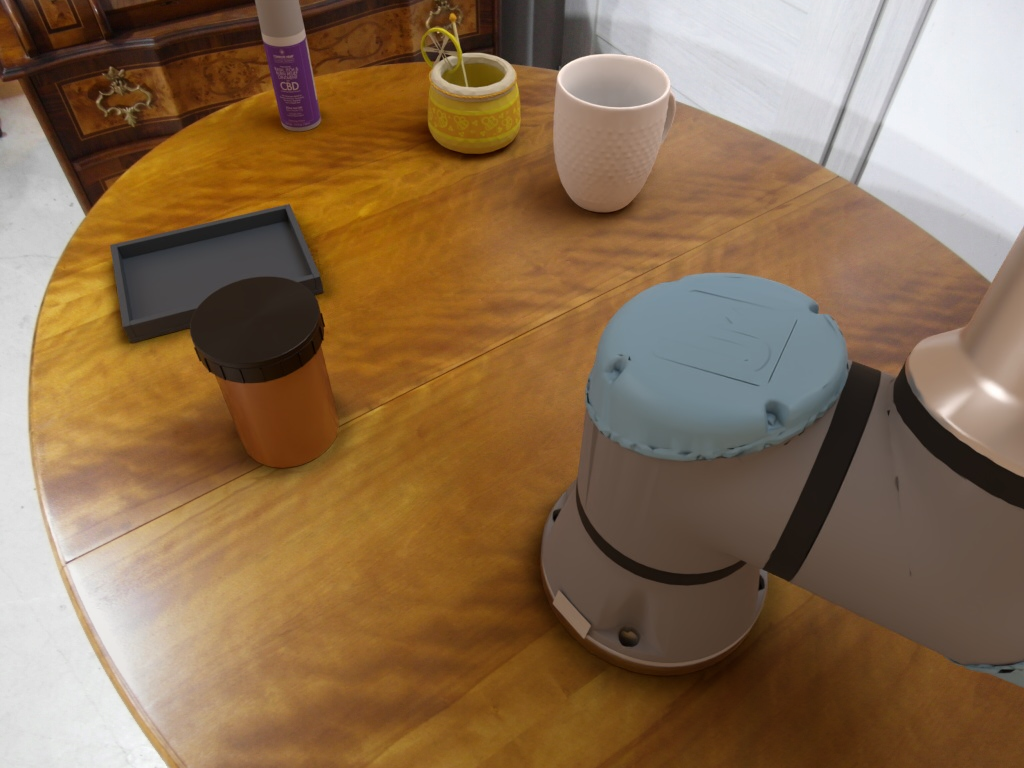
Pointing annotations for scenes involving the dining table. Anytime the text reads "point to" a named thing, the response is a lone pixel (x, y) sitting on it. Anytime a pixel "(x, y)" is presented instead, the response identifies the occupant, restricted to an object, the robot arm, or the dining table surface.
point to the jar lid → (257, 329)
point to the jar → (285, 415)
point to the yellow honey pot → (471, 98)
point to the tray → (205, 267)
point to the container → (289, 63)
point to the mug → (609, 127)
